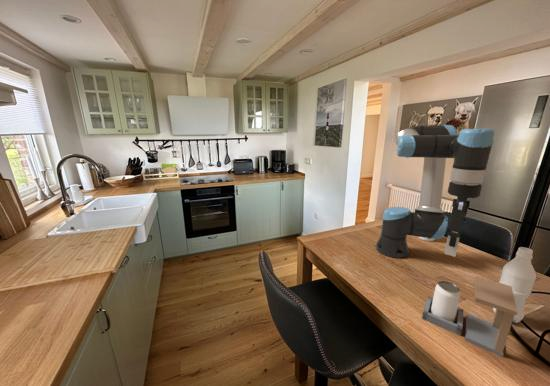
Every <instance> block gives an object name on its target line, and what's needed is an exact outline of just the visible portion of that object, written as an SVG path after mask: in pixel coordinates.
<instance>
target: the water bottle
mask: <svg viewBox="0 0 550 386" xmlns="http://www.w3.org/2000/svg"><path fill="white" fill-rule="evenodd" d="M517 248H518V249H517V251H516V253H515V257H514V258H512V259H511V260H510V261H508V262H506V264H504V265H503V267H502V272H501V276H500V279H499V282H498V283H502V284H505V285H508V286H511V287H512V291H513V295H514V299H515V304H516V308H517V315H516V316H515V315H514V318H513V321H512V323H519V322H521V321H522V320H523V319H524V317H525V305H526V300H527V299H528V298H529V296H530V295H531V294H532V290H533V287H534V283H535V282H536V281H537V280H536V279H537V273H536V270H535V268H534V267H533V265H532V260H533V254H534V250H533V249H531V248H530V247H529V248H528V247H524V246H523V247H522V246H520V247H517ZM492 311H493V313H494V314H495V312H496V309H495V308H493V307H492Z"/></svg>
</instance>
